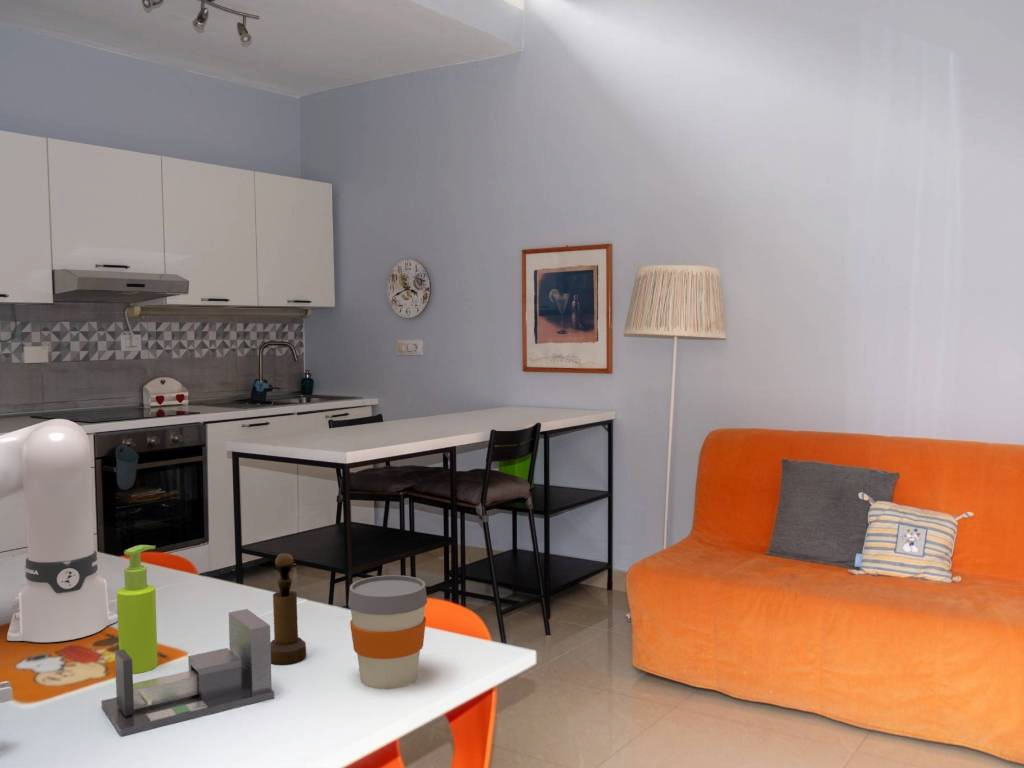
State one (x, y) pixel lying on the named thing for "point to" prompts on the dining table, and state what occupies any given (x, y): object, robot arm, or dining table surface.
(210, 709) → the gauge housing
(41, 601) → the robot arm
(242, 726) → the dining table surface
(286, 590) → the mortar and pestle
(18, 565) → the dining table surface
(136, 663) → the soap dispenser
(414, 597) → the reusable coffee cup
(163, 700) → the plunger
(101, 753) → the dining table surface
